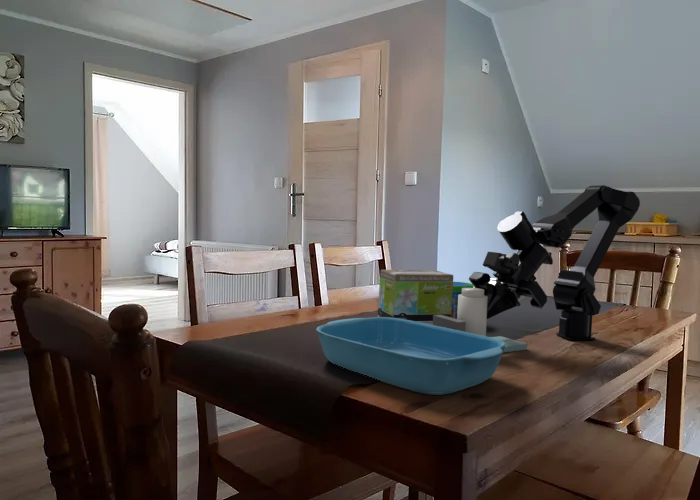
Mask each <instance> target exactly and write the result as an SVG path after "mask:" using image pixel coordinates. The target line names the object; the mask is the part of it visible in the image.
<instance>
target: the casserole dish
mask: <svg viewBox="0 0 700 500" xmlns="http://www.w3.org/2000/svg"><path fill="white" fill-rule="evenodd" d="M315 329H316V330H315V331H316V334H317V336H318V340H319V343H320V345H321V349H322V351H323V354H324V355H325V358H326V359H327V360H328V361H329V362H330V363H332V364H334V365H335V364H336V365H338V366H337V367H339V366H341V367H343V368H342V369H344V368H346V369H349V370H352V371H354V372H353V373H355V372H358V373H361V374H364V375H367V376H369V377H368V378H370V377H372V378H371V379H374V378H375V379H374V380H376V379H377V380H376V381H379V380H380V382H383V383H385V384H389V385H392V386H395V387H398V388H400V389H401V388H402V389H405V390H408V391H412V392H414V393H415V392H416V393H419V394H425V395H432V396H436V395H437V396H440V395H448V394H453V393H455V392H460V391H462V390H465V389H467V388H472V387H475V386H478V385H480V384H482V383H484V382H486V381H487V380H489V379H491V377H492V376H493V375H494V374H495V372H496V370H497V368H498V366H499V363H500V361H501V359H502V356H503V353H504V352H503V351H504V348H505V343H504V342H503V341H501V340H498V339H495V338H491V337H492V336H487V335H486V336H483V335H478V334H473V333H468V332H463V331H459V330H454V329H449V328H445V327H440V326H435V325H430V324H426V323H421V322H416V321H411V320H405V319H399V318H390V317H378V316H373V317H358V318H357V317H356V318H354V317H352V318H344V319H337V320H331V321H328V322H327V323H325V324H322V325H321V324H320V325H319V326H317V327H316V328H315ZM336 365H335V366H336ZM341 367H340V368H341ZM346 369H345V370H346ZM349 370H348V371H349ZM352 371H351V372H352ZM358 373H357V374H358ZM361 374H360V375H361ZM364 375H363V376H364ZM367 376H366V377H367Z"/></svg>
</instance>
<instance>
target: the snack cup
mask: <svg viewBox="0 0 700 500" xmlns="http://www.w3.org/2000/svg"><path fill="white" fill-rule="evenodd" d="M462 288H474V286H473V284H472V283H471V282H463V281H453V294H452V312H451V318H454V319H457V311H458V295H459V294H462Z"/></svg>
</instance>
